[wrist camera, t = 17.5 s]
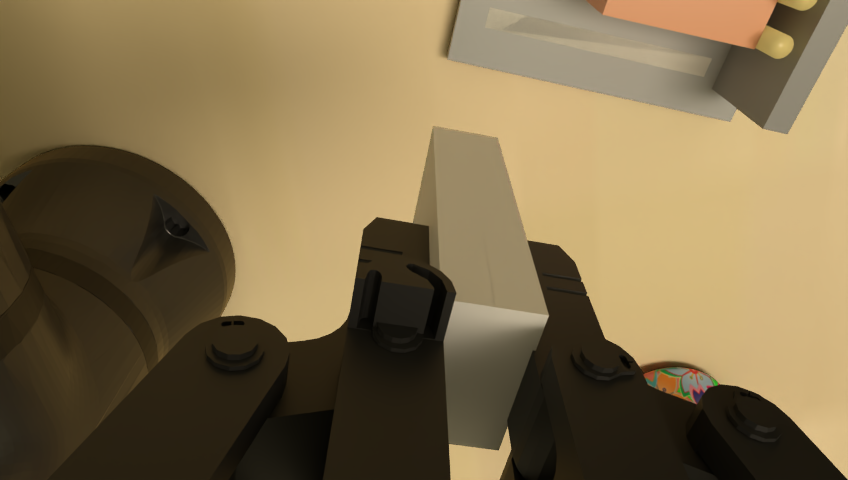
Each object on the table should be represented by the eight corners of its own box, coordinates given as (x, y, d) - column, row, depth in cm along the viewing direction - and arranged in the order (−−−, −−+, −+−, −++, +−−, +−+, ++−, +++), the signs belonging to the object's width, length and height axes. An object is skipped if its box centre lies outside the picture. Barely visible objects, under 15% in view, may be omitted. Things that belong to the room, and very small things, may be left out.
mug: (609, 354, 44) (655, 480, 35) (741, 355, 44) (821, 482, 35) (588, 466, 50) (621, 599, 41) (703, 468, 50) (762, 601, 41)
